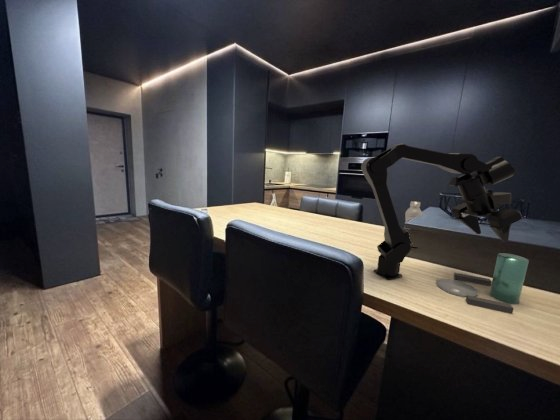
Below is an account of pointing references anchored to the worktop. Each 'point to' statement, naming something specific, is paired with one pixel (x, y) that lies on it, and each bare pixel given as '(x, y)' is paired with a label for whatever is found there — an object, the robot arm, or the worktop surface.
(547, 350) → the worktop surface
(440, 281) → the slate coaster
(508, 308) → the cord right
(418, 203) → the plastic bottle
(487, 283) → the cord left
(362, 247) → the worktop surface
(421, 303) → the worktop surface
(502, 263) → the tin canister
